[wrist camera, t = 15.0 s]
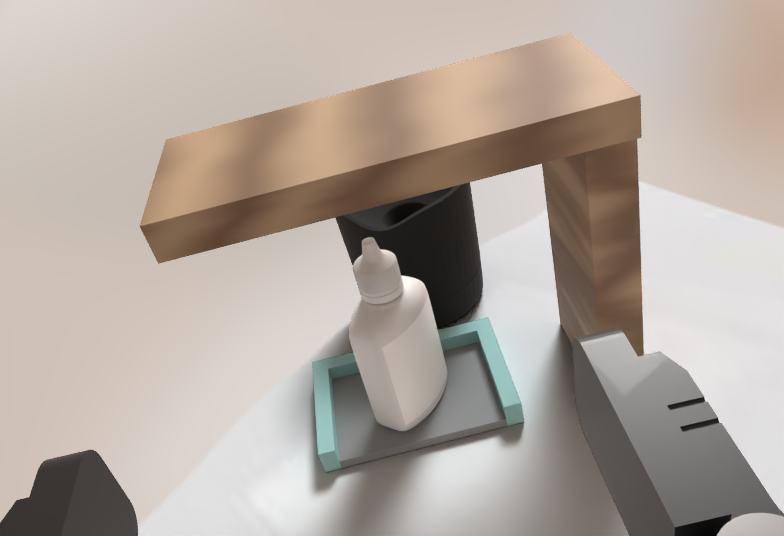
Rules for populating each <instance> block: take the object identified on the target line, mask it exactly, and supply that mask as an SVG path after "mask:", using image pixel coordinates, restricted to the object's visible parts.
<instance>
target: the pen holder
mask: <svg viewBox="0 0 784 536" xmlns="http://www.w3.org/2000/svg"><path fill="white" fill-rule="evenodd" d="M335 218H336V220H337V223H338V226H339V229H340V232H341V234H342V237H343V240H344V243H345V245H346V248H347V251H348V254H349V257H350V259H351V262H352V265H353V264H354V262H355V261H356V259H357V258H358V257H360V256H361V255H362V240H364V239H365V238H368V237H372V238H374V239H375V241H376V243H377V245H378V247H379V249H382V250H388V251H390V252H392V253H394V254H395V256H396V258H397V262H398V266H399V270H400V273H401V276H408V277H412V278H416V279H418V280H420V281H422V282H423V283H424V285H425V287H426V289H427V292H428V295H429V299H430V303H431V306H432V310H433V314H434V318H435V322H436V326H437V328H441V327H444V326H446V325H449V324H451V323H453V322H455V321H457V320H458V319H460V318H461V317H463V316H464V315H465V314H467V313H468V312H469V311H470V310H471V309H472V307H473V306H474V305H475V304H476V302H477V301H478V299H479V297H480V295H481V292H482V288H483V278H482V269H481V261H480V251H479V244H478V237H477V230H476V223H475V216H474V209H473V202H472V194H471V187H470V182H469V183H465V184H461V185H457V186H453V187H449V188H446V189H442V190H438V191H434V192H430V193H427V194H423V195H419V196H415V197H411V198H407V199H404V200H400V201H396V202H392V203H388V204H384V205H381V206H377V207H373V208H369V209H365V210H361V211H358V212H354V213H350V214H346V215H342V216H338V217H335Z"/></svg>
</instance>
